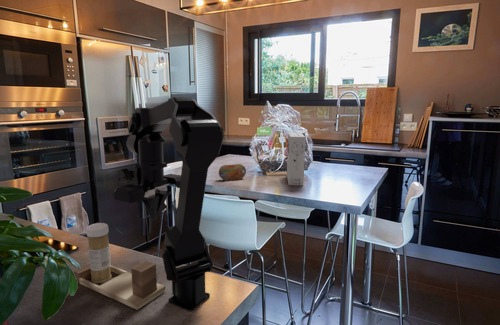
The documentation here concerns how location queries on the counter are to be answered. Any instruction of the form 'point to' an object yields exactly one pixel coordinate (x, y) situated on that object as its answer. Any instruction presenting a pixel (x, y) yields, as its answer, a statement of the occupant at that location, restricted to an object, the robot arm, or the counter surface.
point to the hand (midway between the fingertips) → (153, 219)
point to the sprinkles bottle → (99, 252)
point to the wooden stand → (126, 284)
